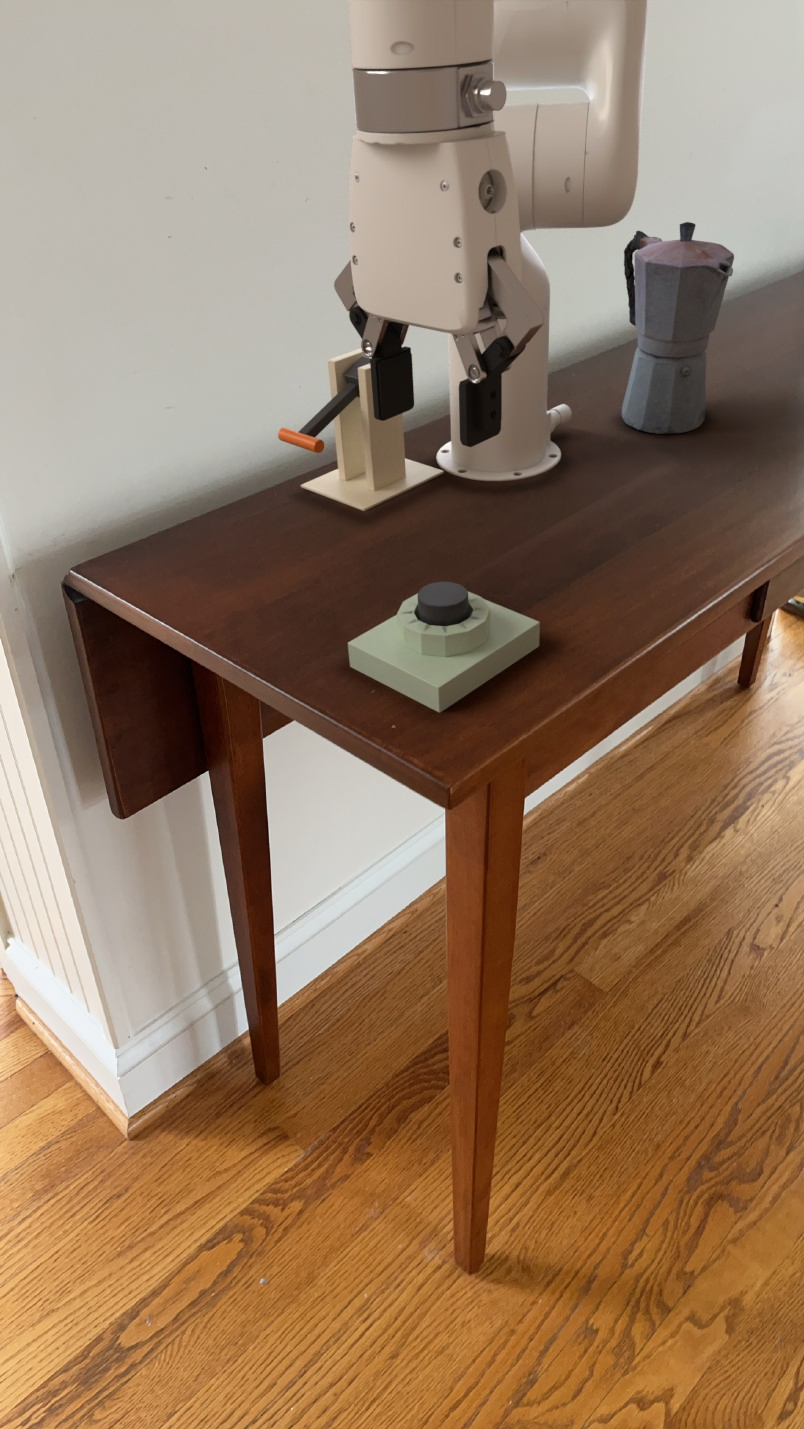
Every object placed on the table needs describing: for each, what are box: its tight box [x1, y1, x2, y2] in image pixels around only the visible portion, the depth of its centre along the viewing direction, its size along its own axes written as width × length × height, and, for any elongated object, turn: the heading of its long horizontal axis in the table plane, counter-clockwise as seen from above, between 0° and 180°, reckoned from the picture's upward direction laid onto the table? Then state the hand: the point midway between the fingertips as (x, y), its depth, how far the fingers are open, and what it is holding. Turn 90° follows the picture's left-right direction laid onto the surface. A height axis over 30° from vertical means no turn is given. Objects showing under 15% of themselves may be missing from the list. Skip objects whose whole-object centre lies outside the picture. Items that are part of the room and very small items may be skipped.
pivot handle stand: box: [300, 347, 445, 512], centre depth 97 cm, size 11×9×13 cm
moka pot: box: [621, 221, 735, 435], centre depth 106 cm, size 10×15×20 cm, turn 33°
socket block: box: [347, 591, 541, 713], centre depth 75 cm, size 11×9×4 cm
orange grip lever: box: [277, 356, 372, 454], centre depth 93 cm, size 11×5×2 cm, turn 136°
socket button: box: [417, 581, 469, 626], centre depth 73 cm, size 4×4×2 cm
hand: (436, 424), depth 65 cm, fingers open, 6 cm apart
